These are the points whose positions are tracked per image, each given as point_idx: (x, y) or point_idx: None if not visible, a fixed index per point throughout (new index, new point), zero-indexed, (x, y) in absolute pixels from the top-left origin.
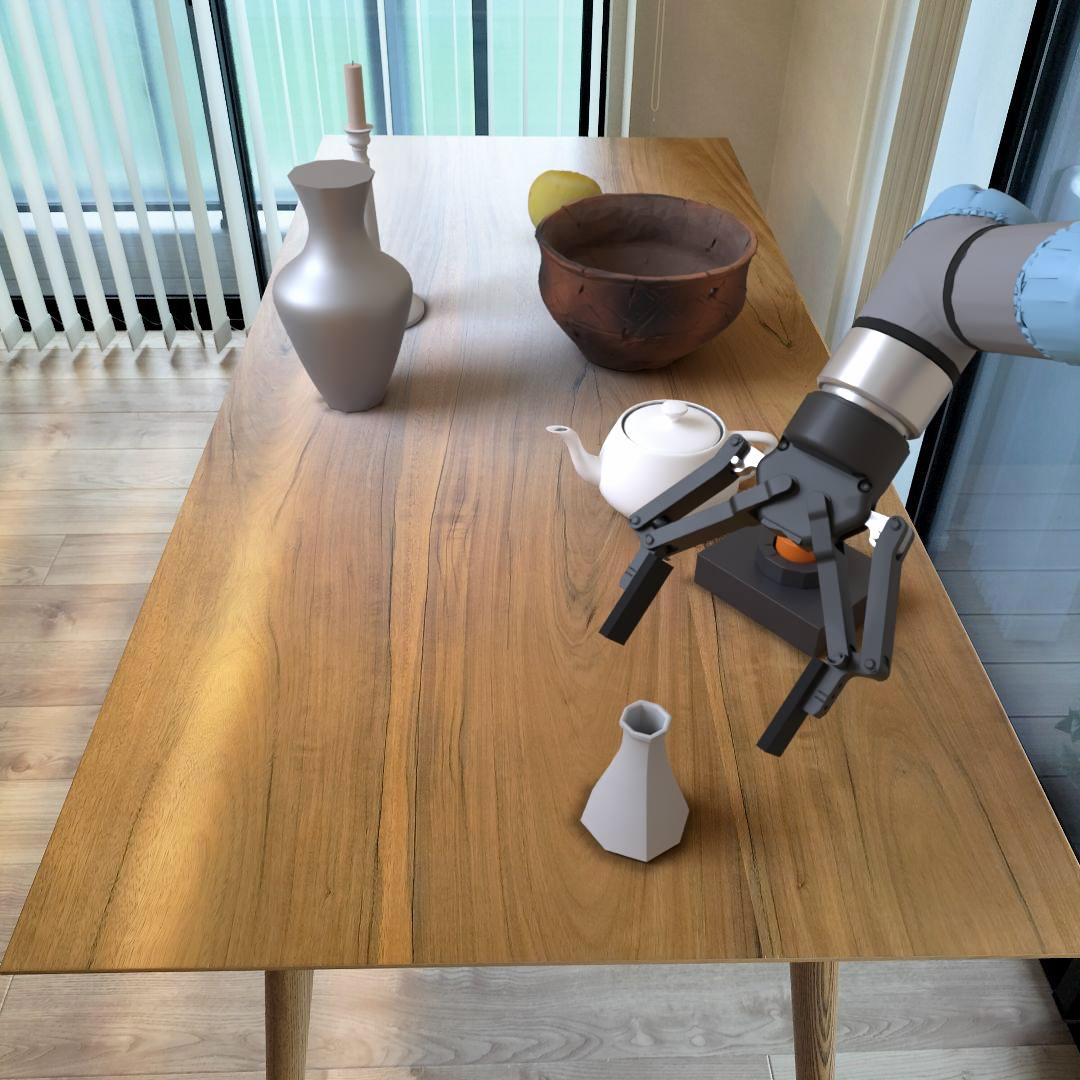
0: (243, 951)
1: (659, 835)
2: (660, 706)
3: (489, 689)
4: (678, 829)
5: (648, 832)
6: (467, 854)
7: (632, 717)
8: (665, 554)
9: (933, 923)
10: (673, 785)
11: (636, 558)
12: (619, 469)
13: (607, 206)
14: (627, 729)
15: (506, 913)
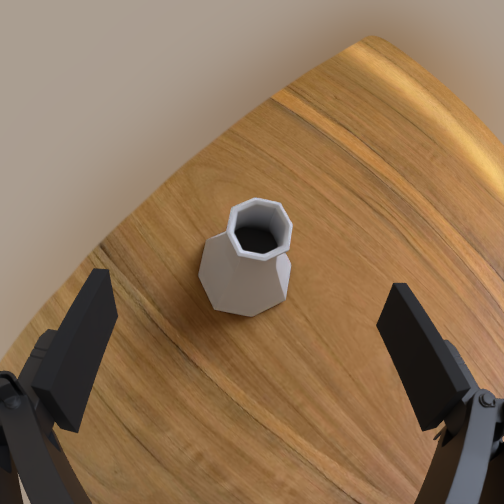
0: (329, 62)
1: (207, 252)
2: (261, 258)
3: (422, 282)
4: (202, 276)
5: (212, 240)
6: (308, 159)
7: (281, 237)
8: (447, 427)
9: (29, 351)
10: (221, 281)
11: (469, 377)
12: None
13: None
14: (263, 199)
15: (252, 144)
